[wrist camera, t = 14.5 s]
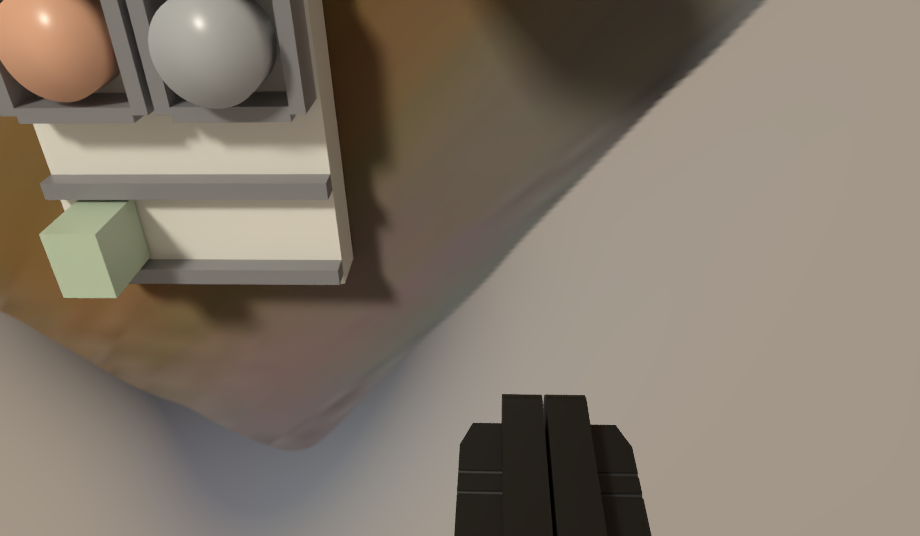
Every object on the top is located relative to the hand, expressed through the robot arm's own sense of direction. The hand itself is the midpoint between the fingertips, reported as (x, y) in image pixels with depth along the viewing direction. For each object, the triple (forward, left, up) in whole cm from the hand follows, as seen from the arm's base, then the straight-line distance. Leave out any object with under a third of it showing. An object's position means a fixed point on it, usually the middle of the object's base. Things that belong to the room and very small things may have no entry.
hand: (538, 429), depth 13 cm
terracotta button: (-1, -22, -26) cm, 34 cm away
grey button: (-1, -14, -25) cm, 28 cm away
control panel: (+4, -18, -29) cm, 34 cm away
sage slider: (+10, -23, -26) cm, 36 cm away
